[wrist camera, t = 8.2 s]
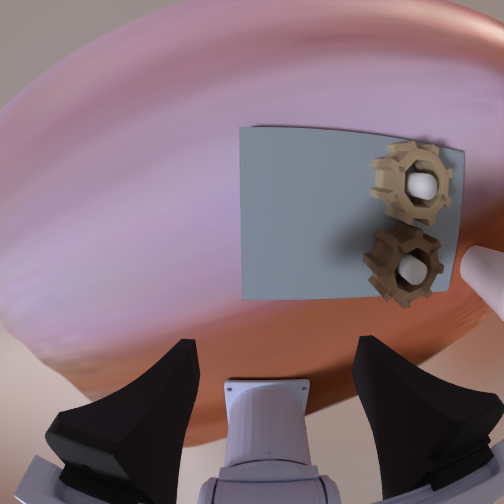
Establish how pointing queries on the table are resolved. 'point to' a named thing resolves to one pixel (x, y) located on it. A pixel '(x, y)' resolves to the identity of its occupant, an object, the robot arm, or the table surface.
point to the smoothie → (485, 275)
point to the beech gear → (393, 182)
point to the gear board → (328, 213)
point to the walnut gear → (389, 255)
